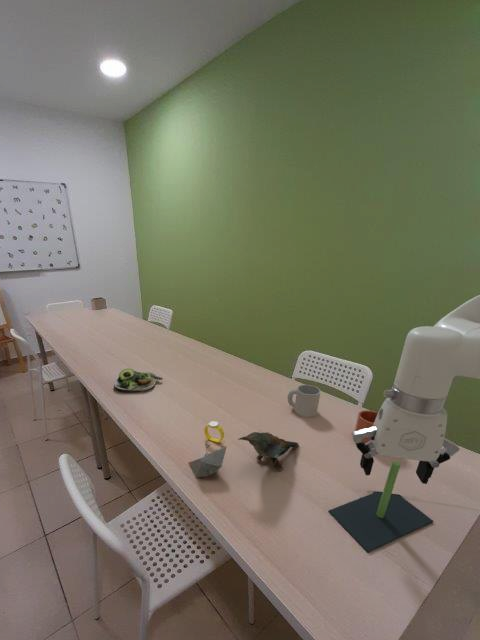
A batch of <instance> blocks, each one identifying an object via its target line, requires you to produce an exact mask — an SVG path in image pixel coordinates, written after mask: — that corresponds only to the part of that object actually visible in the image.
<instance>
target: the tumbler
mask: <svg viewBox="0 0 480 640" xmlns="http://www.w3.org/2000/svg"><path fill="white" fill-rule="evenodd" d="M378 412H379V411H378ZM378 412H377V411H374V410H369V409H368V410H367V409H366V410H360V411H358V414H357V418H356V423H355V427H354V430H353V432H354V431H358V430H362V429H366V428H370V427H373V425H374V422H375V419H376V417H377V414H378ZM370 440H371V439H370V437H368V438H364V439H362V442H363V443H364V444H366V443H367V442H369V441H370ZM373 448H374V447H373Z"/></svg>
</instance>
